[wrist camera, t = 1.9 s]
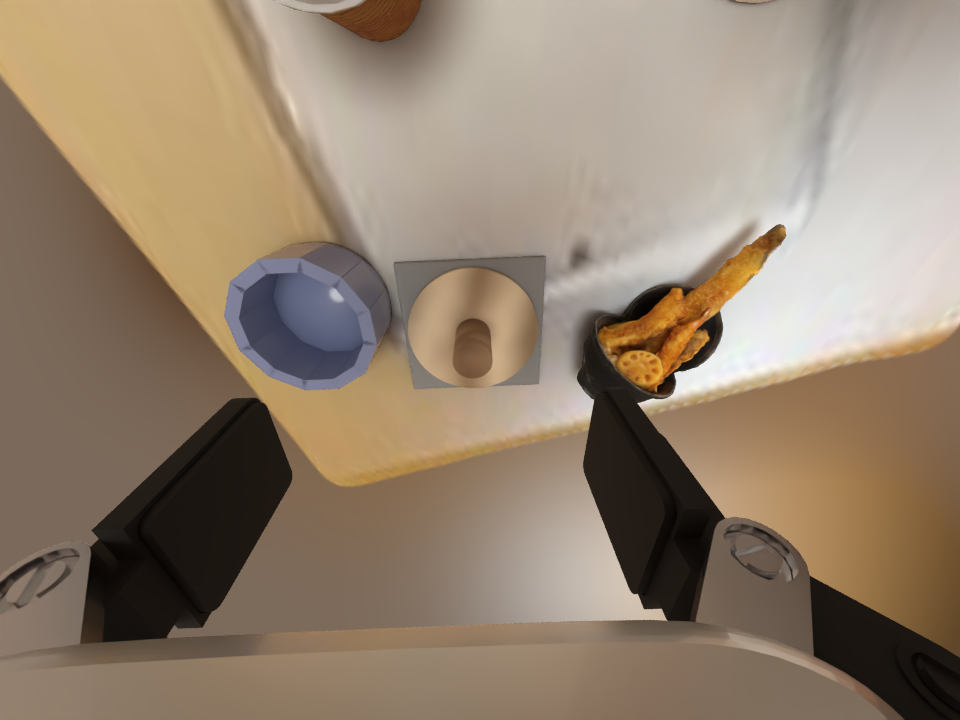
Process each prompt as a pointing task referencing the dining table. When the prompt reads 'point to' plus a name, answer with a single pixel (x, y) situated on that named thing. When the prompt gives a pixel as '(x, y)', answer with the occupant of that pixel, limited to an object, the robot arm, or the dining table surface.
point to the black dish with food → (667, 329)
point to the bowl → (309, 314)
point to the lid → (472, 327)
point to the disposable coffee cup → (364, 15)
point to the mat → (517, 268)
